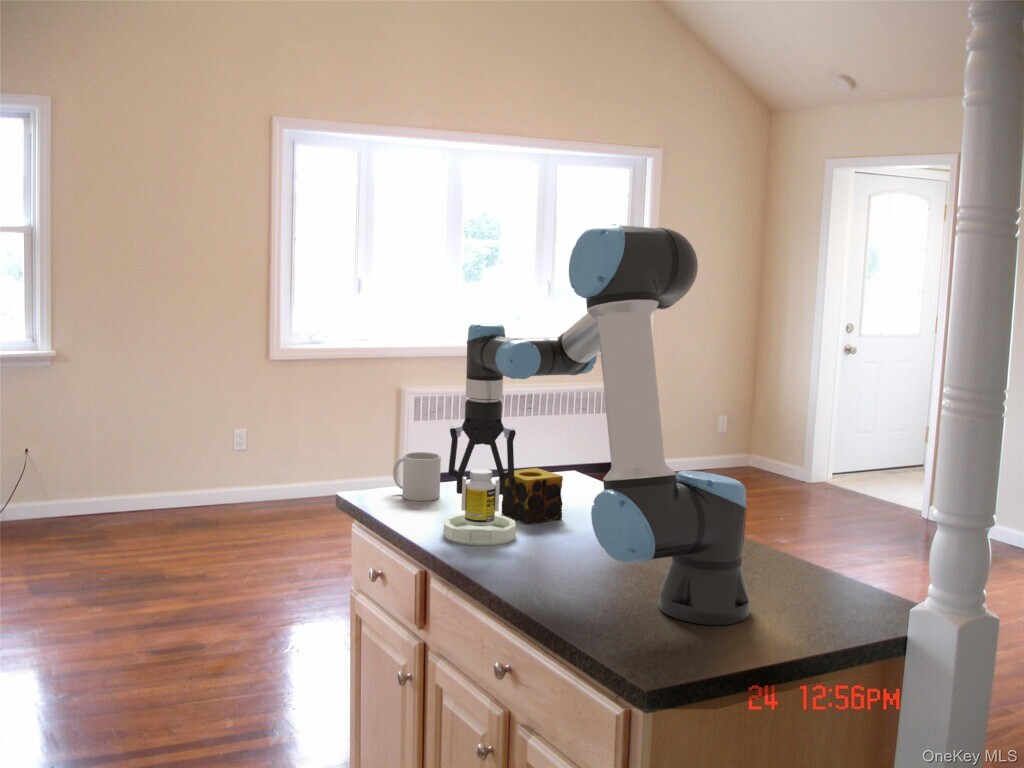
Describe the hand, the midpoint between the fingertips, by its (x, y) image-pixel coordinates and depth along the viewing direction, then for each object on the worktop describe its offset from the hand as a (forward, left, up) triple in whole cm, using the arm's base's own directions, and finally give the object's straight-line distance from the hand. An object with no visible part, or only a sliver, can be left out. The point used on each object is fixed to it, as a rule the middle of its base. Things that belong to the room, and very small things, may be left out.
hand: (479, 509), depth 209 cm
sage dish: (0, 0, -6) cm, 6 cm away
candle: (+16, -12, -6) cm, 21 cm away
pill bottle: (0, 0, -3) cm, 3 cm away
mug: (+33, +14, -6) cm, 36 cm away
